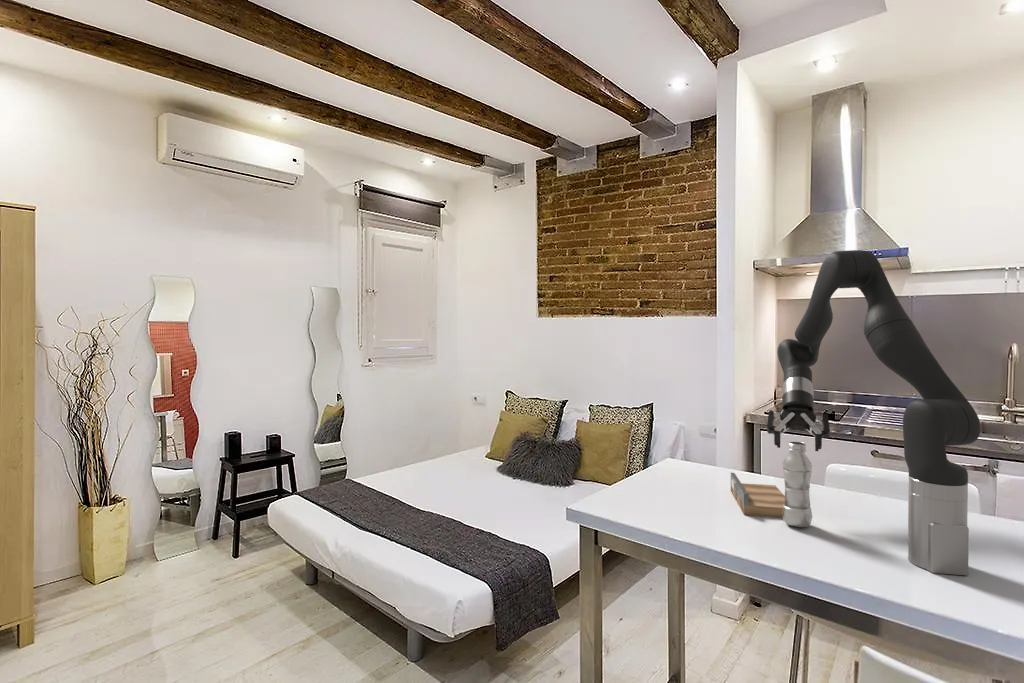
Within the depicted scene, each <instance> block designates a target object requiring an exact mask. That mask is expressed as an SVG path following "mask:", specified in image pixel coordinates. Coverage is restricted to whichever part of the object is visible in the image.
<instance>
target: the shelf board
mask: <svg viewBox="0 0 1024 683" xmlns="http://www.w3.org/2000/svg"><path fill="white" fill-rule="evenodd" d="M741 484H742V485H743V487H744V488H745V490H746V491H747V493H748V505H744V504H743V503H742V501H741V499H740V498H739V496H738V494H737V493H736V491H735V490H733V488H732V486H731V485H730V493H731V492H732V493H731V495H732V494H733V495H732V496H733V497H734V500H735V501H737V502H736V503H737V506H738V507H739V509H740V508H741V509H740V511H741V512H742V514H743V515H744V516H753V515H754V517H755V516H756V517H767V516H773V517H772V518H782V517H783V516H782V509H783V505H784V497H785V494H784V493H783V492H782V491H781V490H780V489H779V488H778V487H777V485H776V484H764V483H763V484H761V483H759V484H758V483H742V482H741Z"/></svg>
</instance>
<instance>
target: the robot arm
mask: <svg viewBox="0 0 1024 683" xmlns="http://www.w3.org/2000/svg"><path fill="white" fill-rule="evenodd" d="M854 288H856V289H859V290H860V292H861V294H863V296H864V299H865V300H866V303H867V311H866V315H865V319H864V322H863V323H864V324H863V333H864V337H865V338H866V341H867V343H868V344H869V346H870V348H871V349H872V352H873V354H874V355H875V357H877V359H878V360H879V361H880V363H882V364H883V365H884V366H886V368H887V369H889V370H890V371H892V372H894V373H895V374H896V375H897V376H899V377H900V378H902V379H903V380H905V381H906V382H907V383H909V385H911V386H912V387H913V388H914V389H915V390H916V391H917V392H918V394H919V395H920V396H921V398H922V399H917V400H914V401H911V402H910V403H909V404H908V405H907V406H906V407H905V409H904V412H903V417H902V434H903V436H902V437H903V438H902V439H903V454H904V460H905V462H906V466H907V469H908V491H907V492H908V494H907V495H908V506H907V507H908V508H907V509H908V513H907V514H908V515H907V516H908V517H907V518H908V519H907V523H908V524H907V530H908V531H907V532H908V533H907V541H908V542H907V543H908V544H907V546H908V548H907V549H908V550H907V559H908V561H909V562H910V563H912V564H914V565H915V566H917V567H919V568H922V569H924V570H927V571H928V572H930V573H933V574H944V575H945V574H946V575H955V576H956V575H958V576H967V577H968V576H969V547H970V546H969V541H970V539H969V536H970V534H969V532H970V531H969V527H968V510H969V509H968V505H969V504H968V503H969V502H968V501H969V500H968V498H969V495H968V494H969V472H968V470H967V468H966V467H964V466H962V465H960V464H957V463H954V462H951V461H950V460H949V459H948V456H947V450H946V447H949V446H954V447H957V446H967V445H971V444H973V443H975V442H976V441H978V439H979V438H980V434H981V431H982V430H981V422H980V418H979V415H978V413H977V411H976V410H975V408H974V406H972V404H971V403H970V401H969V400H968V399H967V397H966V396H964V394H963V393H962V392H961V390H960V389H959V388H958V387H957V386H956V384H955V383H954V382H953V381H952V380H951V377H949V376H948V374H947V373H946V371H945V370H944V369H943V367H942V366H941V365H940V363H939V361H938V360H937V359H936V357H935V356H934V354H933V353H932V351H931V350H930V348H929V347H928V344H926V342H925V340H924V338H923V336H922V335H921V333H920V331H919V330H918V329H917V327H916V325H915V324H914V322H913V321H912V320H911V318H910V317H909V315H908V314H907V312H906V311H905V309H904V307H903V306H902V304H901V302H900V301H899V299H898V297H897V295H896V294H895V292H894V290H893V288H892V286H891V284H890V282H889V280H888V277H887V276H886V274H885V271H884V270H883V267H882V265H881V262H880V261H879V259H878V257H877V256H876V255H875V254H874V253H873V252H871V251H869V250H865V249H856V250H855V249H854V250H853V249H852V250H837V251H833V252H831V253H828V254H827V255H826V257H825V258H824V259H823V261H822V263H821V266H820V269H819V271H818V274H817V277H816V280H815V283H814V286H813V290H812V293H811V296H810V300H809V303H808V306H807V308H806V311H805V313H804V315H803V316H802V317H801V319H800V321H799V323H798V325H797V327H796V329H795V330H794V338H795V339H791V338H785V339H783V340H782V341H781V342H780V343H779V345H778V347H777V351H776V352H777V358H778V362H779V364H780V367H781V369H782V372H783V386H782V394H781V412H780V413H779V412H774V410H771V409H770V410H769V411H768V415H767V416H768V417H767V424H766V431H767V434H772V435H773V439H774V440H773V441H774V442H773V443H774V444H773V445H775V446H776V448H779V449H780V448H781V439H782V438H781V435H782V434H783V433H786V432H787V431H788V430H789V429H790V430H791V431H796V430H798V431H802V432H803V431H808V433H809V434H810V435H812V436H813V437H814V448H815V449H814V451H815V452H819V450H822V446H823V444H822V443H823V440H822V439H829V438H830V433H831V429H830V428H831V427H830V422H829V414H827V413H822V415H816V414H815V404H814V403H815V400H814V399H815V394H814V388H813V387H814V386H813V372H812V369H811V368H810V367H813V366H814V365H816V363H817V362H818V359H819V355H820V346H821V344H822V342H823V340H824V337H825V336H826V334H827V333H828V331H829V329H830V327H831V326H832V323H833V319H834V317H833V316H834V315H833V314H834V313H833V311H832V310H833V309H832V306H831V298H832V297H833V294H835V292H836V291H837V290H838V289H854ZM778 419H779V420H780V422H779V423H778V425H776V426H774V422H776V421H777V420H778ZM816 421H817V422H818V423H819V424H820V425H821V426H822V430H821V429H820V428H818V427H817V425H816V424H815V422H816Z"/></svg>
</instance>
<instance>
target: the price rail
mask: <svg viewBox="0 0 1024 683" xmlns="http://www.w3.org/2000/svg"><path fill="white" fill-rule="evenodd" d="M741 483H742V482H741V481H740V479H739V478H738V477H737V475H736V473H735V472H730V487H731V486H732V488H733V490H735V491H736V493H737V494H738V496H739V498H740V499H741V501H742V503H743V504H744V505H748V493H747V491H746V490H745V488H744V487H743V485H742V484H741Z"/></svg>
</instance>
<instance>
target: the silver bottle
mask: <svg viewBox="0 0 1024 683" xmlns="http://www.w3.org/2000/svg"><path fill="white" fill-rule="evenodd" d="M806 446H807V445H806V443H805V442H801V441H788V448H787V449H788V451H789V453H787V454H786V456H785V457H784V458H783V461H782V472H783V479H784V481H783V482H784V496H785V497H784V505H783V509H782V516H783V518H782V519H783V522H784V523H785V524H786V525H789V526H792V527H795V528H796V527H797V528H808V527H809V526H810V525H811V524H812V521H813V520H812V519H813V512H812V508H811V498H810V496H811V495H810V487H811V485H810V484H811V478H812V472H813V465H812V462H811V460H810V458H809V457H808V456H807V455H806V452H807V449H806V448H807V447H806Z"/></svg>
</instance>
